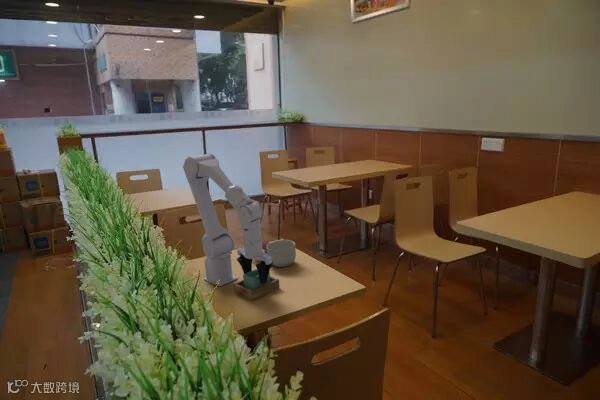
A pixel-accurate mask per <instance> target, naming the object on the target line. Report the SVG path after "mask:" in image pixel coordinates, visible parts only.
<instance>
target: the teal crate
mask: <svg viewBox="0 0 600 400" xmlns="http://www.w3.org/2000/svg"><path fill="white" fill-rule="evenodd" d="M270 273H271V272H270V271H269V274H268V279H267V282H266V283H264V284H261V282H260V277H259V272H258V270H257V268H255V269H252V271H250V272H248V273H246V274H244V273H243V275H242V278H243V279H242V280H244V287H245V288H247V289H250V290H252V291H253V290H255V289H257V288H259V287H262V286H264V285H266V284H268V283H270V276H271V275H270Z"/></svg>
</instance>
